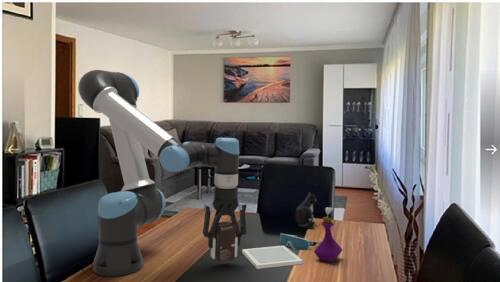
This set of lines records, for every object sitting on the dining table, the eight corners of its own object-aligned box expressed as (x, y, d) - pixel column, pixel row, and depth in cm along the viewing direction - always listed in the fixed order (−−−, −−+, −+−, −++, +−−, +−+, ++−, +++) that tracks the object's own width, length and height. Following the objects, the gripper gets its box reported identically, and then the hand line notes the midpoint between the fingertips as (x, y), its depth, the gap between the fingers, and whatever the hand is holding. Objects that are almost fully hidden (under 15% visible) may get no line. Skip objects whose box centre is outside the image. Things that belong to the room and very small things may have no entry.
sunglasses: (273, 244, 159) (274, 231, 159) (294, 241, 170) (295, 228, 170) (304, 253, 150) (305, 239, 150) (325, 248, 161) (326, 235, 161)
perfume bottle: (334, 265, 137) (336, 211, 136) (313, 260, 141) (314, 208, 140) (342, 258, 144) (343, 207, 143) (321, 254, 148) (323, 204, 146)
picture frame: (257, 269, 134) (257, 265, 133) (242, 252, 149) (242, 249, 149) (302, 263, 139) (302, 260, 138) (283, 248, 154) (283, 245, 154)
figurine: (322, 228, 180) (323, 194, 179) (301, 231, 177) (302, 196, 176) (311, 223, 189) (312, 190, 188) (291, 225, 186) (292, 191, 185)
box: (219, 263, 132) (219, 226, 131) (212, 259, 136) (213, 222, 135) (235, 260, 135) (236, 223, 134) (228, 255, 139) (229, 220, 138)
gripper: (198, 189, 127) (196, 263, 129) (258, 187, 133) (256, 258, 135) (193, 184, 134) (191, 254, 136) (251, 183, 140) (248, 250, 142)
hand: (223, 256), depth 135 cm, fingers closed on box, 7 cm apart
